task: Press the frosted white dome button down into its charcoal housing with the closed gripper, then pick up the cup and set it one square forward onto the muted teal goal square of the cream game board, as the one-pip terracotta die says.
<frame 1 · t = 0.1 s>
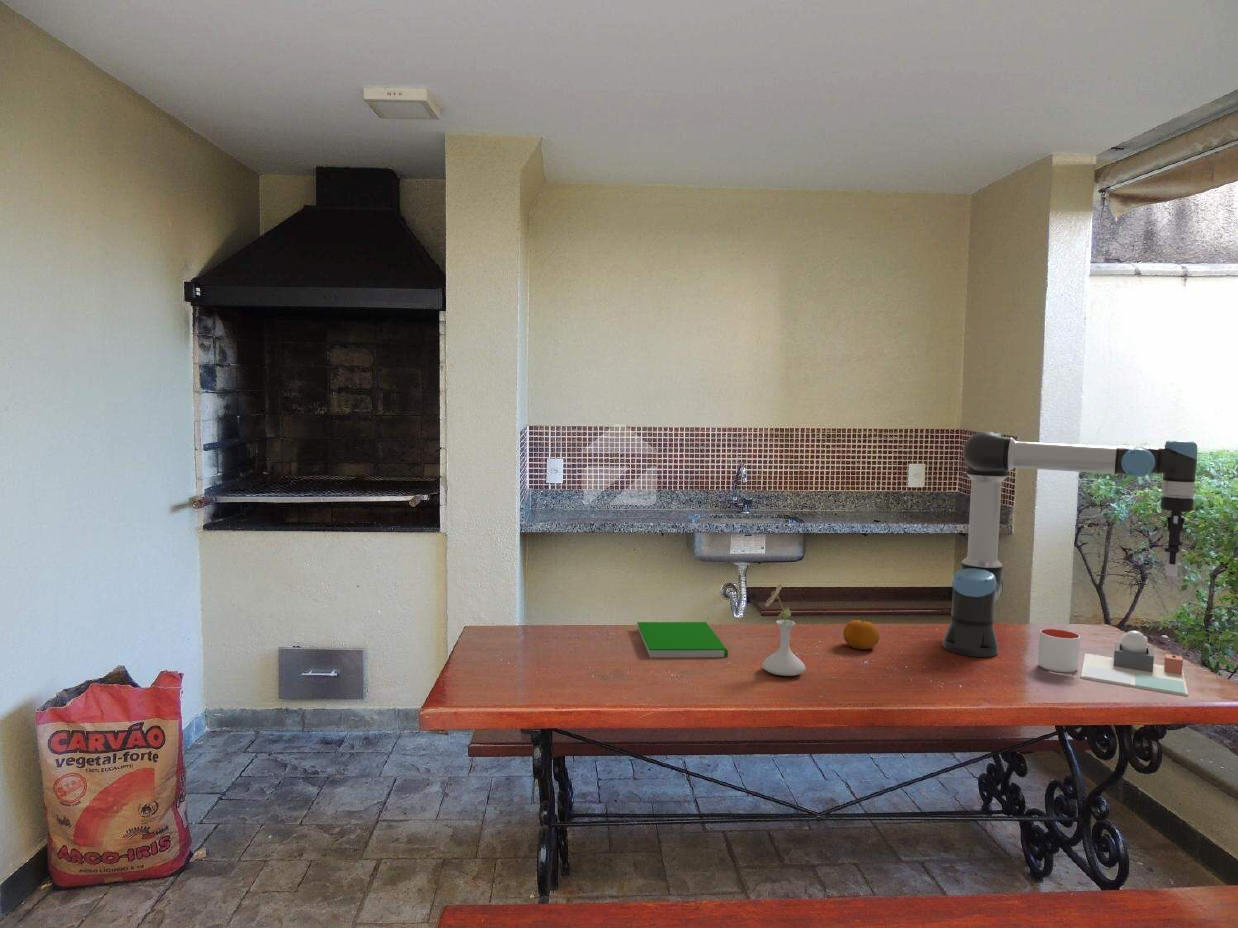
hand: (1171, 572, 236), 28 cm above the table, fingers open, 13 cm apart
cup: (1057, 669, 236), on the table
book: (680, 645, 251), on the table
fruit: (860, 647, 252), on the table
game board: (1132, 674, 233), on the table
dome housing: (1132, 664, 239), resting on game board
flower in vase: (781, 674, 226), on the table
dome button: (1134, 642, 239), point 7 cm above the table, slide at 0.0 cm
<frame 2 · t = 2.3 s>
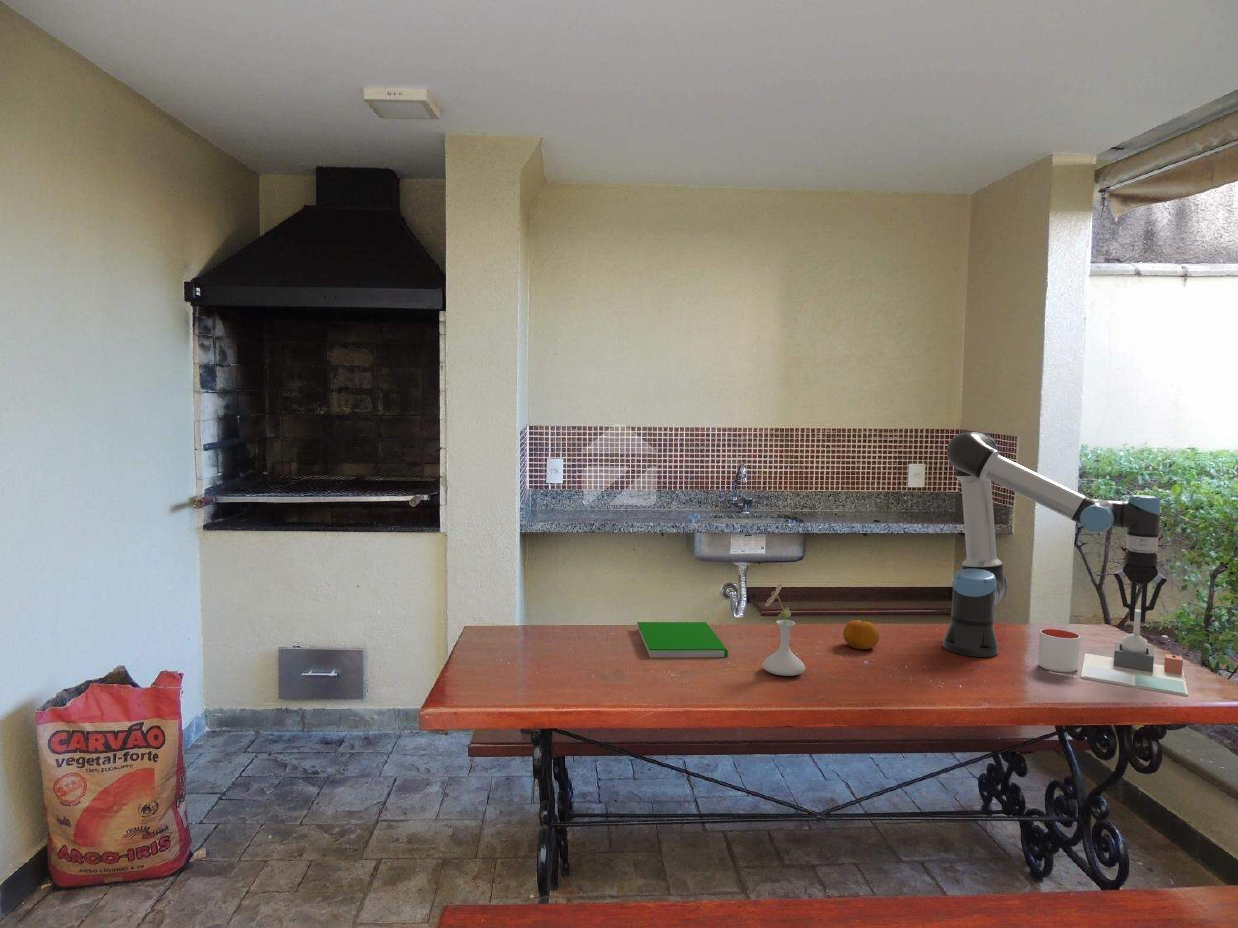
hand: (1136, 633, 239), 10 cm above the table, fingers closed
dome button: (1134, 644, 239), point 6 cm above the table, slide at 0.8 cm, touching gripper
everything else where it was.
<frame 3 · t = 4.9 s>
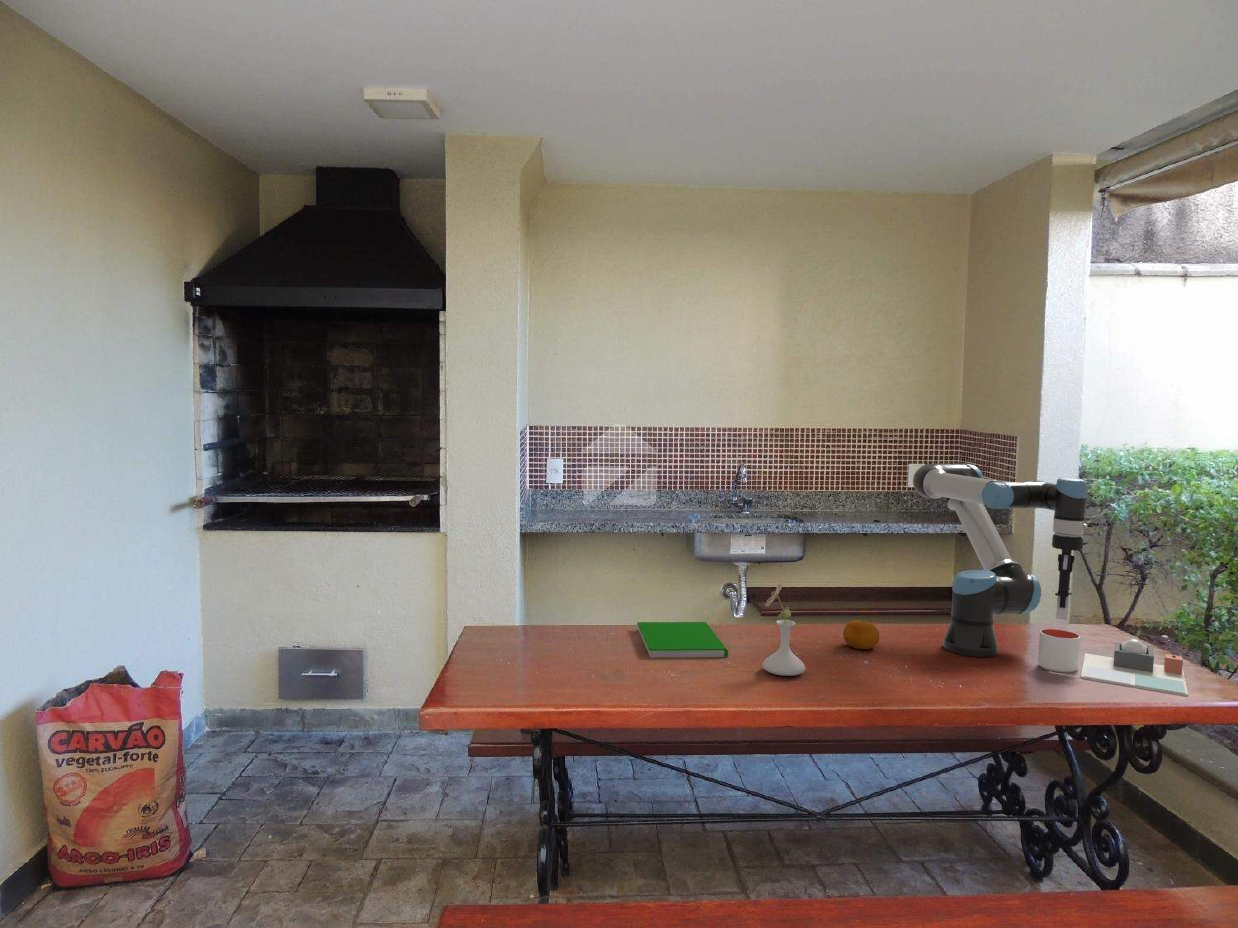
hand: (1061, 618, 235), 14 cm above the table, fingers closed
dome button: (1133, 650, 239), point 5 cm above the table, slide at 2.5 cm
everything else where it was.
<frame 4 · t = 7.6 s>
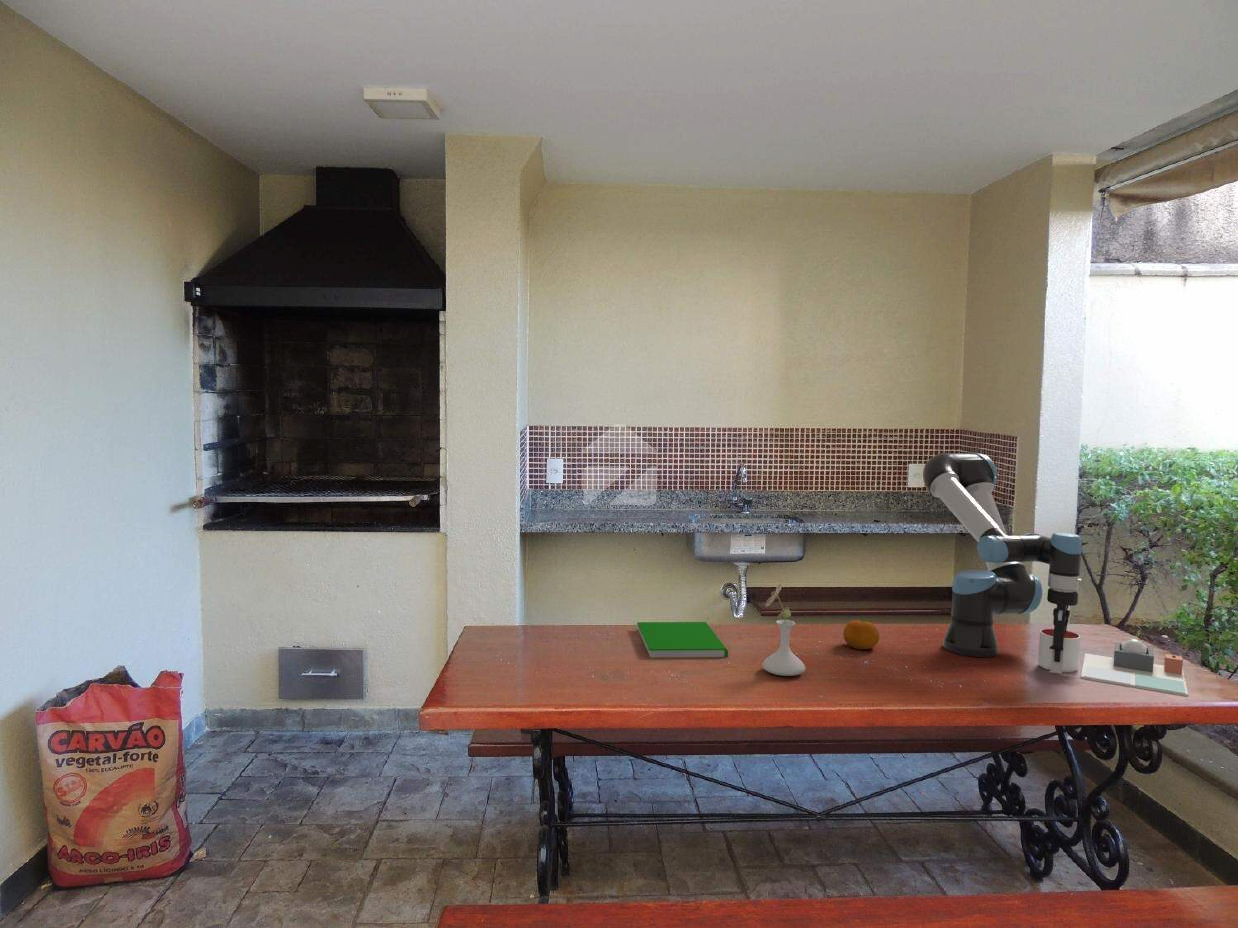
hand: (1057, 667, 236), 0 cm above the table, fingers closed on cup, 10 cm apart
cup: (1057, 669, 236), on the table, touching gripper
everything else where it was.
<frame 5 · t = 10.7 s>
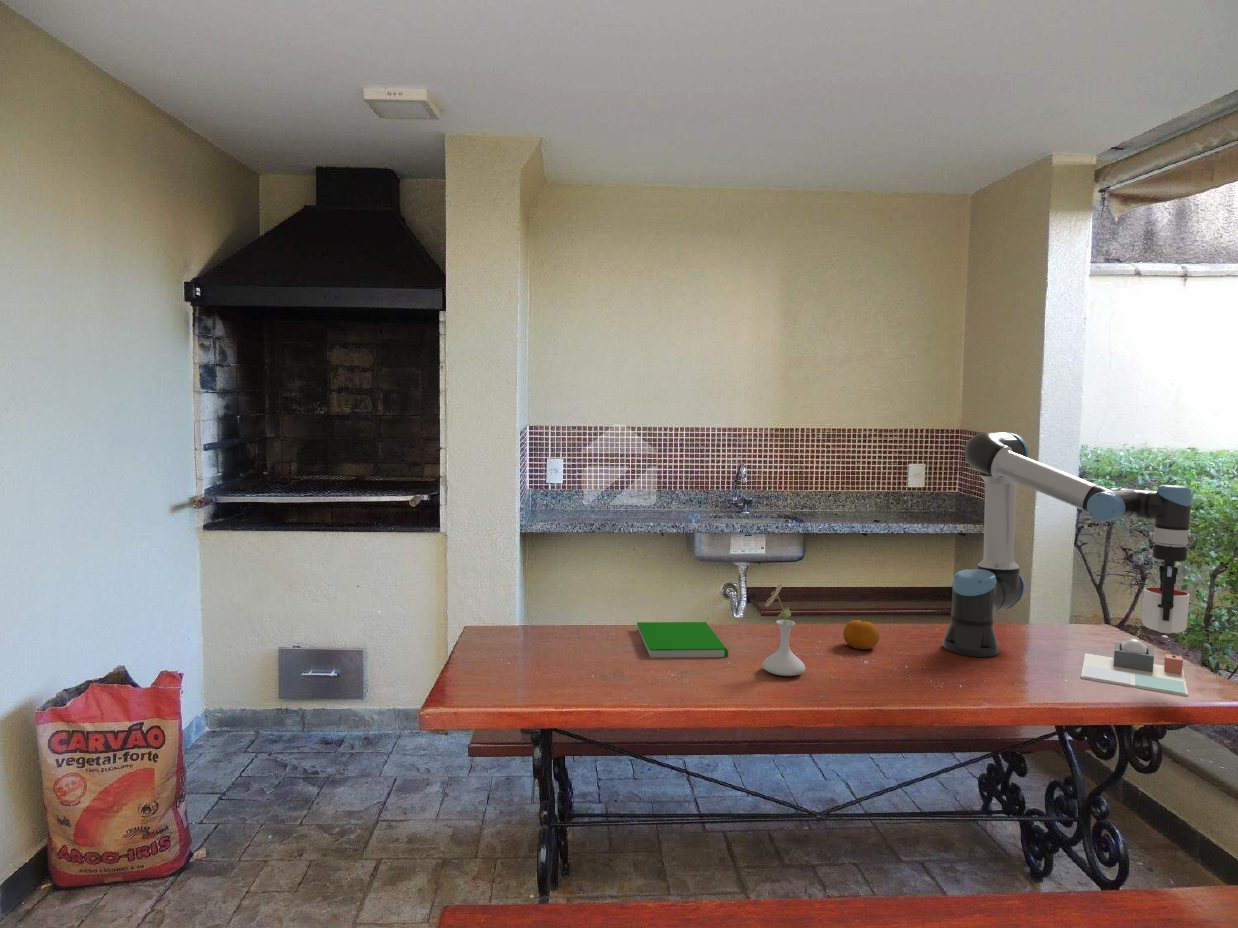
hand: (1163, 627, 222), 16 cm above the table, fingers closed on cup, 10 cm apart
cup: (1163, 629, 222), point 15 cm above the table, touching gripper
everything else where it was.
when the fingers open (2 cm above the table, at t = 13.6 s): cup drops 1 cm, resting on game board.
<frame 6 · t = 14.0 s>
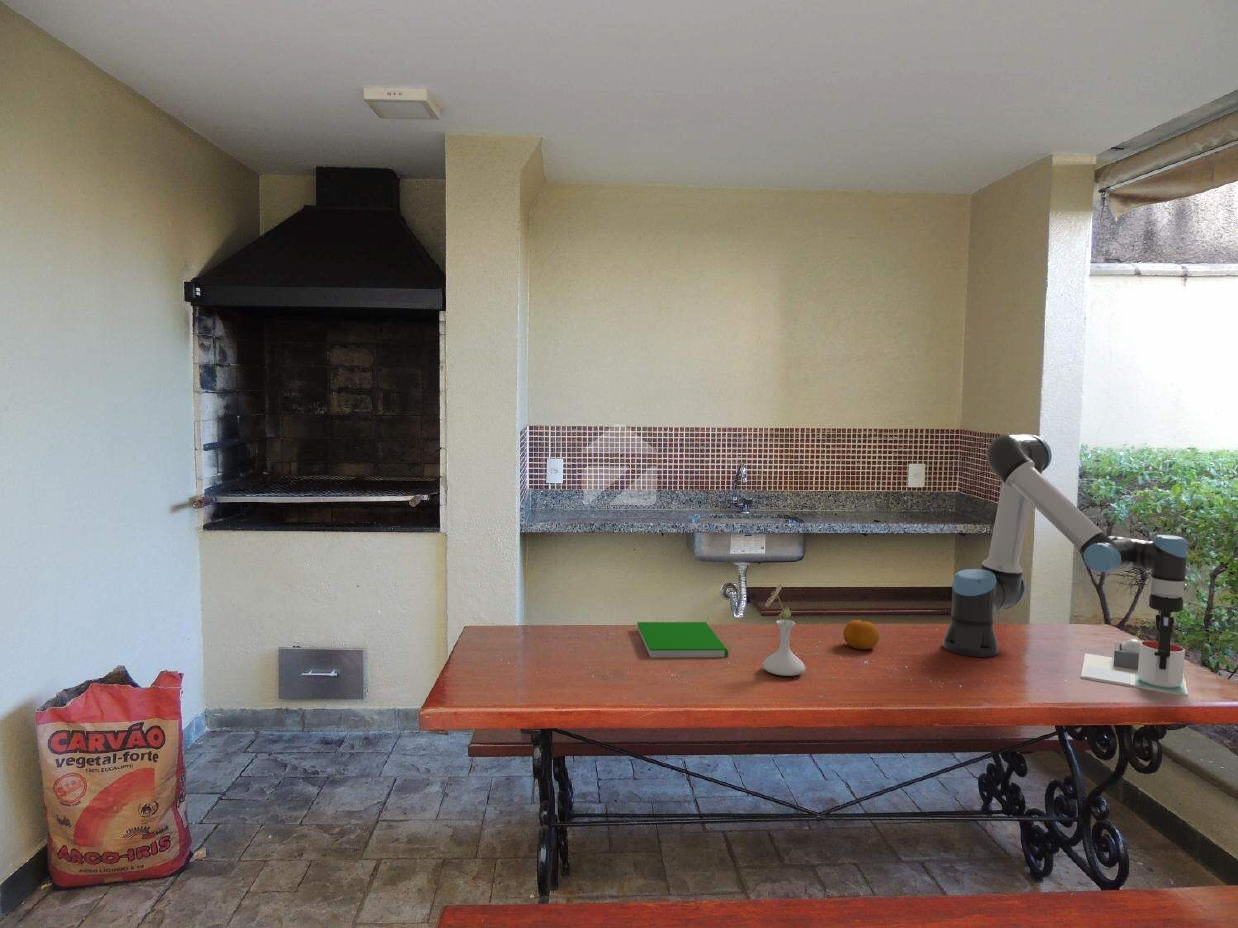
hand: (1160, 673, 223), 3 cm above the table, fingers open, 13 cm apart
cup: (1159, 683, 224), resting on game board
everything else where it was.
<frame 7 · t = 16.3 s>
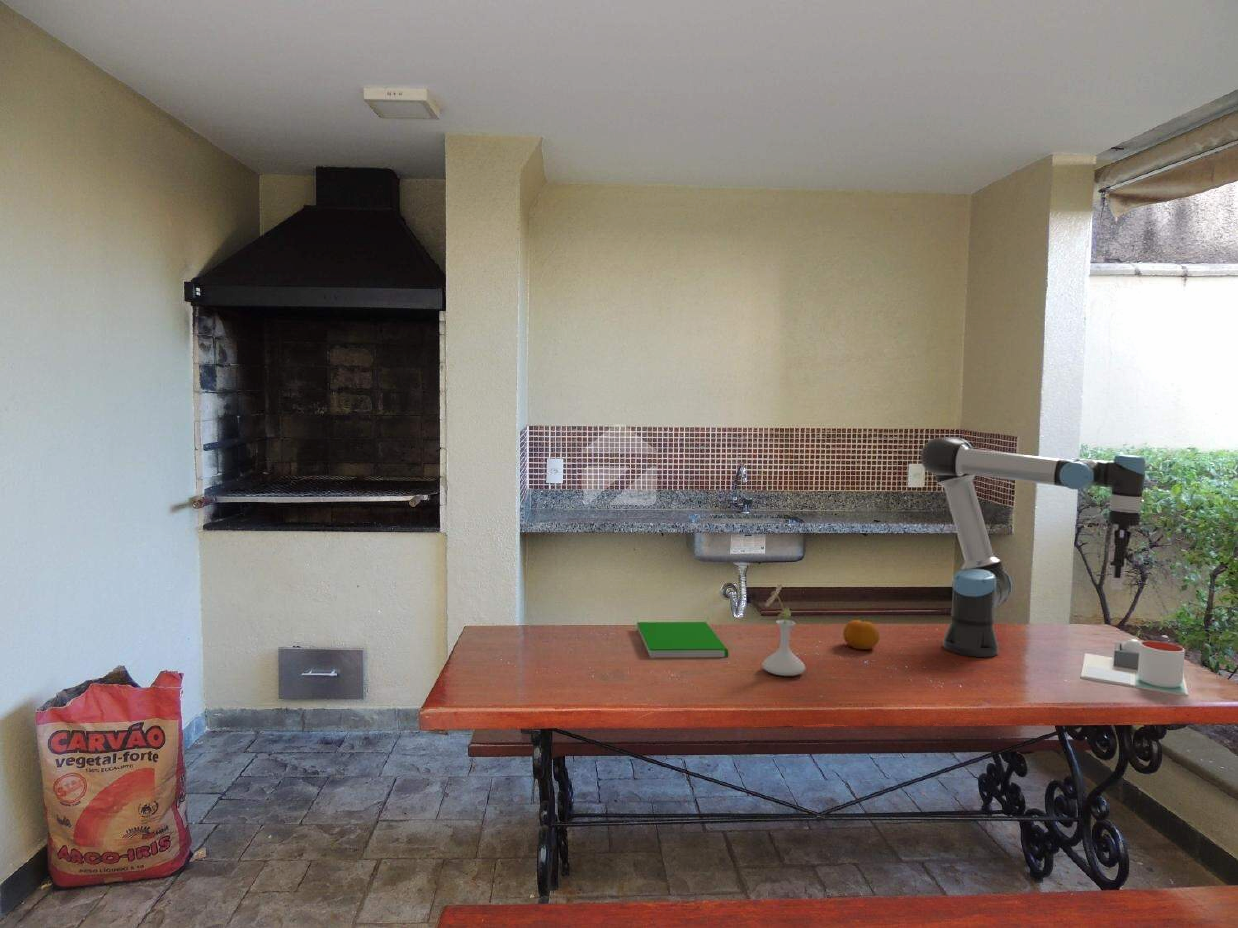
hand: (1117, 584, 238), 23 cm above the table, fingers open, 13 cm apart
nothing on the table moved.
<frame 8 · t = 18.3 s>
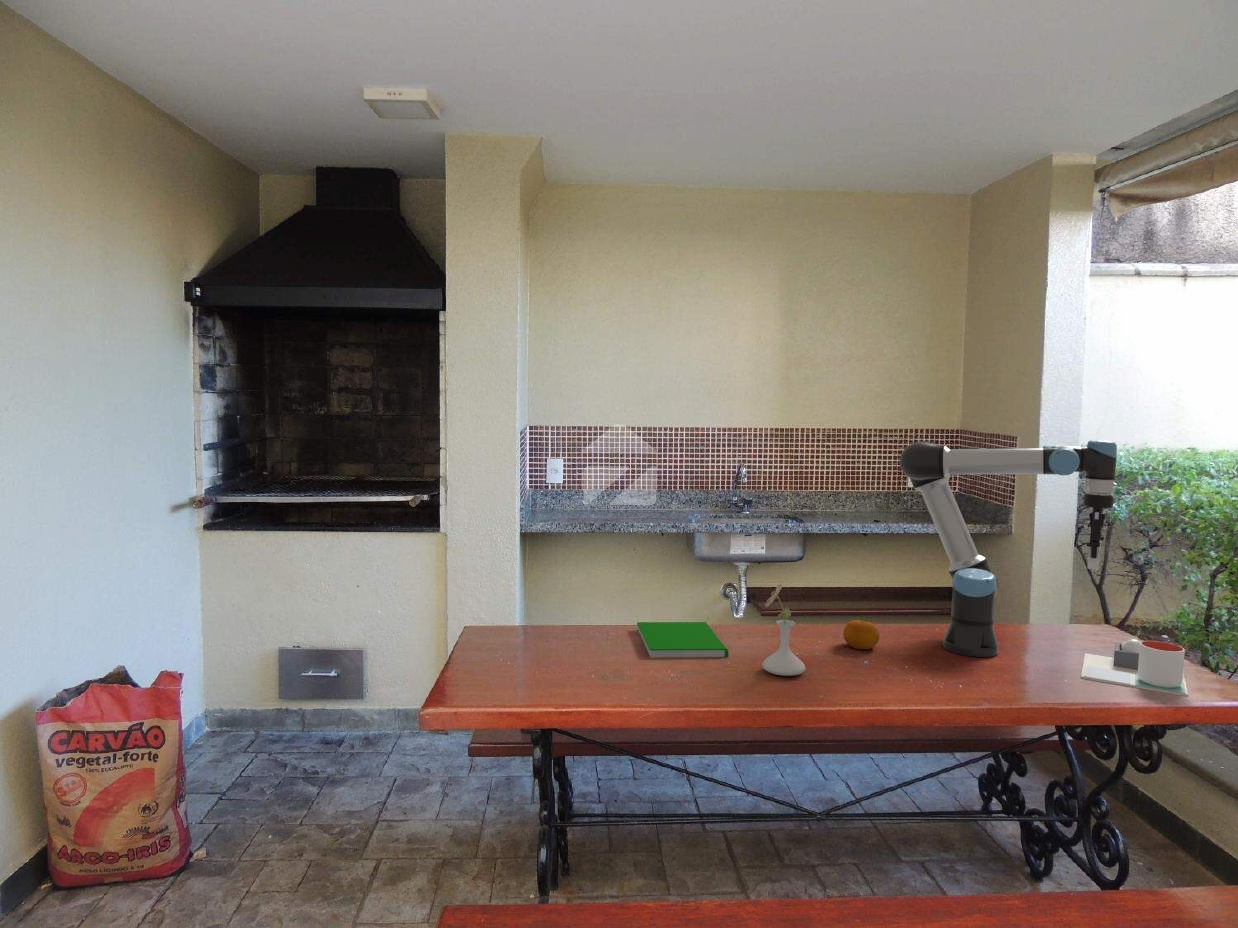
hand: (1093, 565, 248), 27 cm above the table, fingers open, 13 cm apart
nothing on the table moved.
at the end: cup inside the target area on the game board (0.1 cm from its centre), point 0.5 cm above the game board's base; cup tilted 0°; dome button slide at 2.5 cm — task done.
